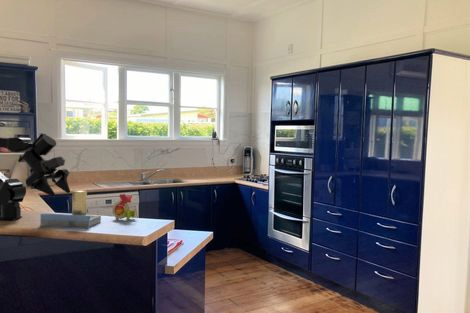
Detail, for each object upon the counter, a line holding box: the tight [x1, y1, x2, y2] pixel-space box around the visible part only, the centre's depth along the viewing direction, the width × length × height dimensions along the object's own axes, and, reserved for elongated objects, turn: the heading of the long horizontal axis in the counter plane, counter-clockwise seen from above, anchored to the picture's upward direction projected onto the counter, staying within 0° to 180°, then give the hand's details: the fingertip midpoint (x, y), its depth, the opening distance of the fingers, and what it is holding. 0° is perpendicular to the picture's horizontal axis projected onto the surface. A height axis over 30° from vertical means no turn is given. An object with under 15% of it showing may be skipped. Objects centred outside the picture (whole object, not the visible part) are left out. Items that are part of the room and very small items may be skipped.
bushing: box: [71, 190, 88, 215], centre depth 145 cm, size 5×5×12 cm
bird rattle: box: [111, 193, 137, 222], centre depth 155 cm, size 6×11×9 cm
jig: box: [40, 212, 102, 229], centre depth 145 cm, size 18×11×4 cm, turn 87°
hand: (61, 193), depth 146 cm, fingers open, 9 cm apart
